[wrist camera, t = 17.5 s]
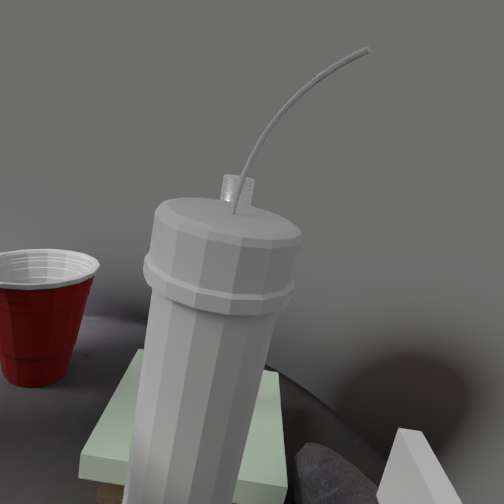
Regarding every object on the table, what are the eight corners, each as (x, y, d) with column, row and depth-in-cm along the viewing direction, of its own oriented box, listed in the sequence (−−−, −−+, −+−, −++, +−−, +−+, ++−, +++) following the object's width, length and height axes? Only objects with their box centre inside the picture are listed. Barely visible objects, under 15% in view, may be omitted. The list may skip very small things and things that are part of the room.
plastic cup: (17, 335, 48) (21, 236, 45) (107, 355, 48) (117, 256, 44) (-59, 389, 38) (-62, 265, 34) (55, 415, 37) (63, 292, 34)
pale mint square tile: (281, 510, 29) (287, 487, 28) (78, 477, 28) (80, 453, 27) (274, 389, 42) (277, 372, 41) (136, 366, 41) (138, 348, 41)
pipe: (150, 583, 25) (246, 53, 17) (230, 667, 22) (399, 68, 14) (66, 669, 21) (137, 4, 12) (152, 791, 18) (329, 10, 9)
